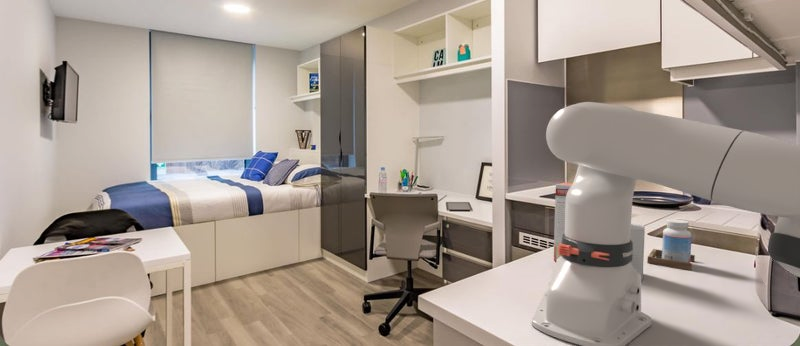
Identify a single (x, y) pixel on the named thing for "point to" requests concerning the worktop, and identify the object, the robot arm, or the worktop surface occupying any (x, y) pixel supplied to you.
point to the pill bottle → (676, 241)
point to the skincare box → (638, 247)
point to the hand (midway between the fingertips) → (755, 251)
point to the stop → (668, 261)
